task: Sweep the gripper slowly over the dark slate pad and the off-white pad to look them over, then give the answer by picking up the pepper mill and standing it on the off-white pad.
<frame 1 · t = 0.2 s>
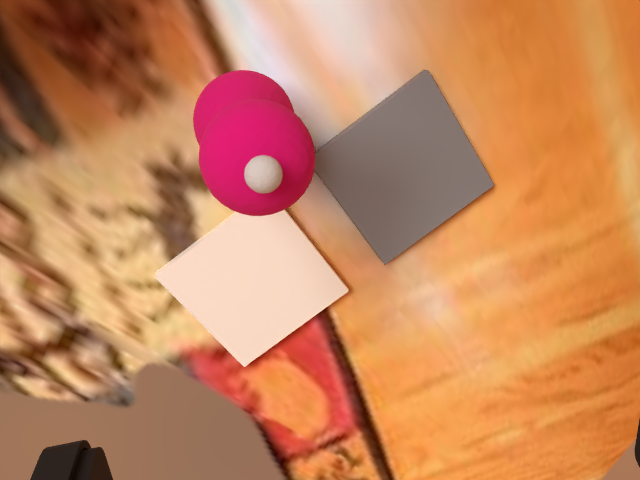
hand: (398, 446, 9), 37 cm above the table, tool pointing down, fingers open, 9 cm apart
pepper mill: (241, 114, 43), on the table
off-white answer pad: (255, 279, 48), on the table
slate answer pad: (401, 170, 47), on the table
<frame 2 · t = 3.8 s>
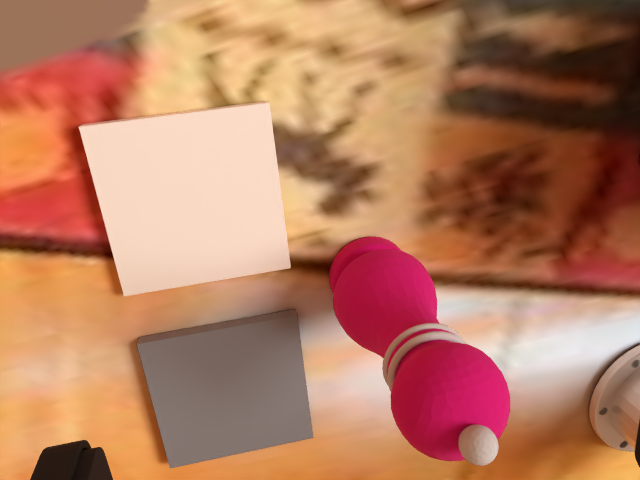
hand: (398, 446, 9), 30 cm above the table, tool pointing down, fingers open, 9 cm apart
pepper mill: (366, 272, 42), on the table
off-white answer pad: (194, 199, 38), on the table
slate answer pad: (230, 386, 44), on the table
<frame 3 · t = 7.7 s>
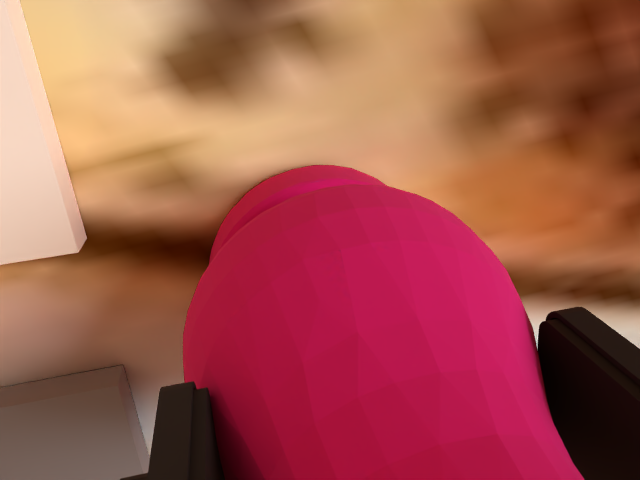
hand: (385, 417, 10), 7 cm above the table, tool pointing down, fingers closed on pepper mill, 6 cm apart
pepper mill: (316, 265, 16), on the table, touching gripper
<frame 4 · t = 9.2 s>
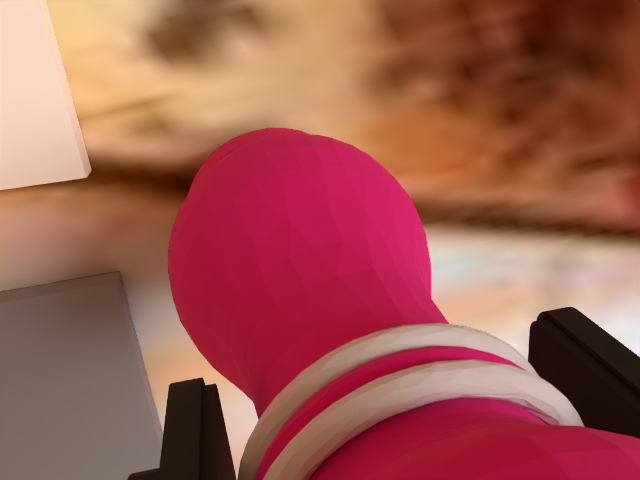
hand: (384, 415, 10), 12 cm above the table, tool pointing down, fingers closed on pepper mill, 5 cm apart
pepper mill: (273, 212, 20), point 1 cm above the table, touching gripper
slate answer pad: (2, 428, 22), on the table
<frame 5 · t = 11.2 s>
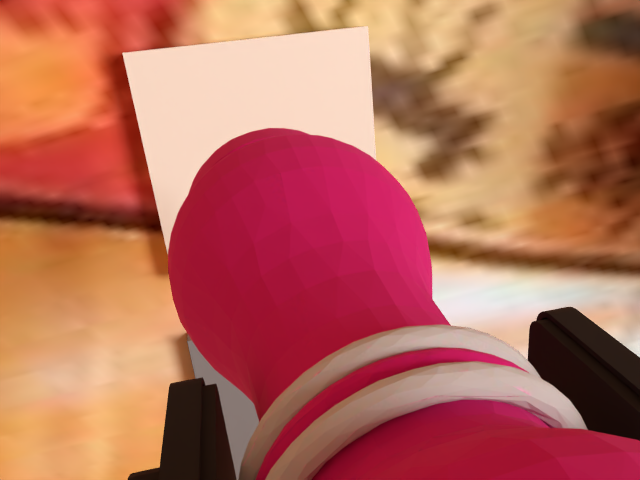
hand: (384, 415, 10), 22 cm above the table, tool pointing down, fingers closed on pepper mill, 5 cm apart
pepper mill: (273, 212, 20), point 11 cm above the table, touching gripper
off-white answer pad: (264, 155, 29), on the table
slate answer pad: (297, 394, 35), on the table
when the fingers open (11 cm above the table, at t = 13.5 s): pepper mill stays where it is, resting on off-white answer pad.
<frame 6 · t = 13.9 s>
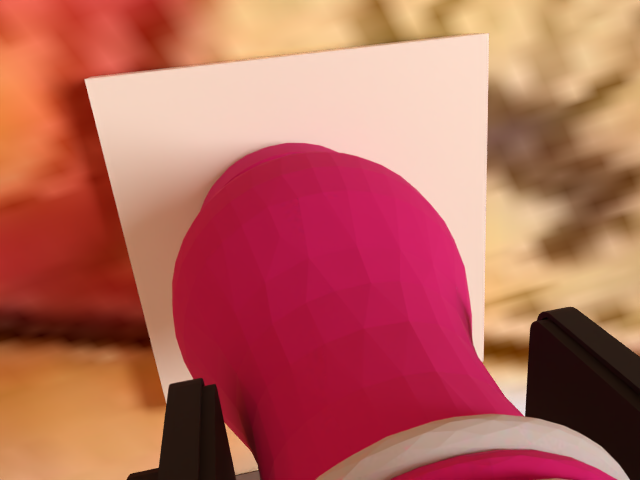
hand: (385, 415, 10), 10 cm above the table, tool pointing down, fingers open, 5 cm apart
pepper mill: (292, 234, 18), point 1 cm above the table, touching gripper, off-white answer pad
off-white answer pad: (312, 233, 19), on the table
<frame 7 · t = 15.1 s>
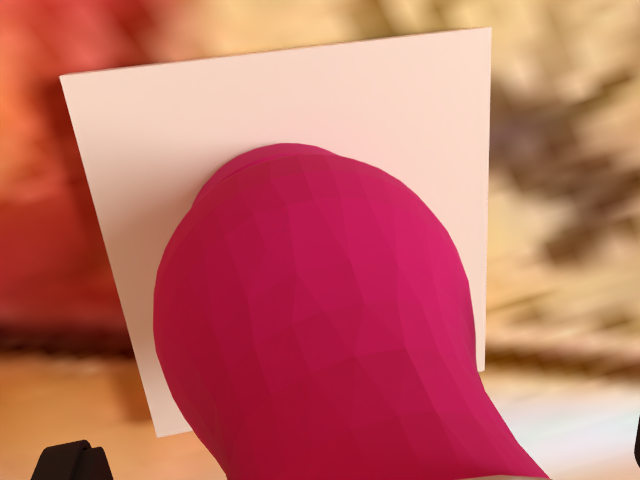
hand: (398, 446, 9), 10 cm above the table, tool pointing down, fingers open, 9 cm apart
pepper mill: (286, 239, 17), point 1 cm above the table, touching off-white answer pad
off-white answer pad: (305, 238, 18), on the table
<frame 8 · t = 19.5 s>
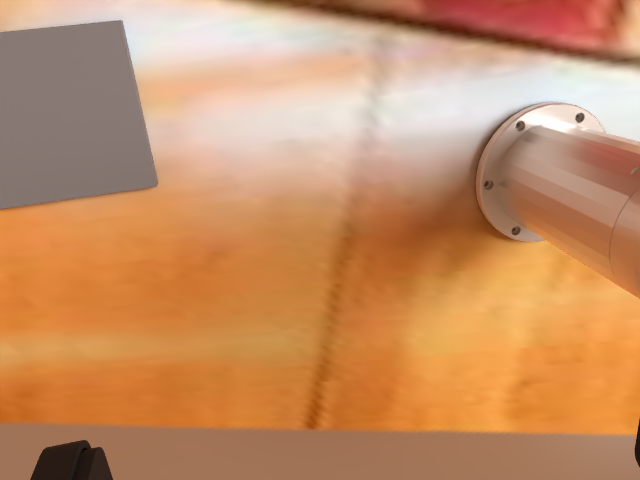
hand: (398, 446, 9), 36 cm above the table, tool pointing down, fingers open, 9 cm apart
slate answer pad: (57, 116, 40), on the table
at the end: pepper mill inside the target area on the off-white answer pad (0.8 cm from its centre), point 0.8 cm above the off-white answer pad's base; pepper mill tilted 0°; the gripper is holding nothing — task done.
